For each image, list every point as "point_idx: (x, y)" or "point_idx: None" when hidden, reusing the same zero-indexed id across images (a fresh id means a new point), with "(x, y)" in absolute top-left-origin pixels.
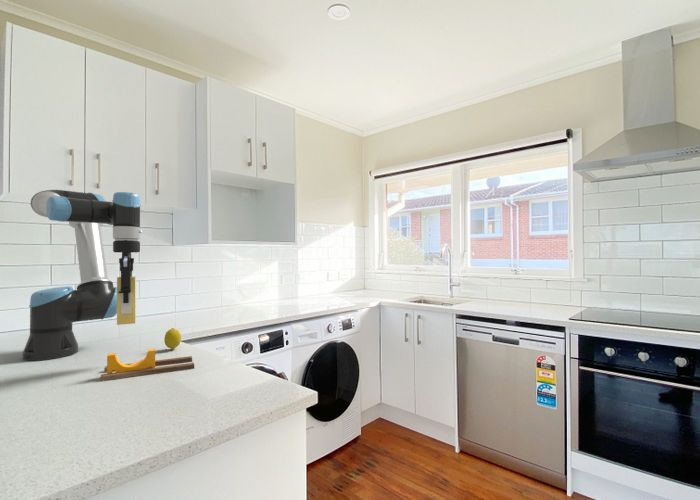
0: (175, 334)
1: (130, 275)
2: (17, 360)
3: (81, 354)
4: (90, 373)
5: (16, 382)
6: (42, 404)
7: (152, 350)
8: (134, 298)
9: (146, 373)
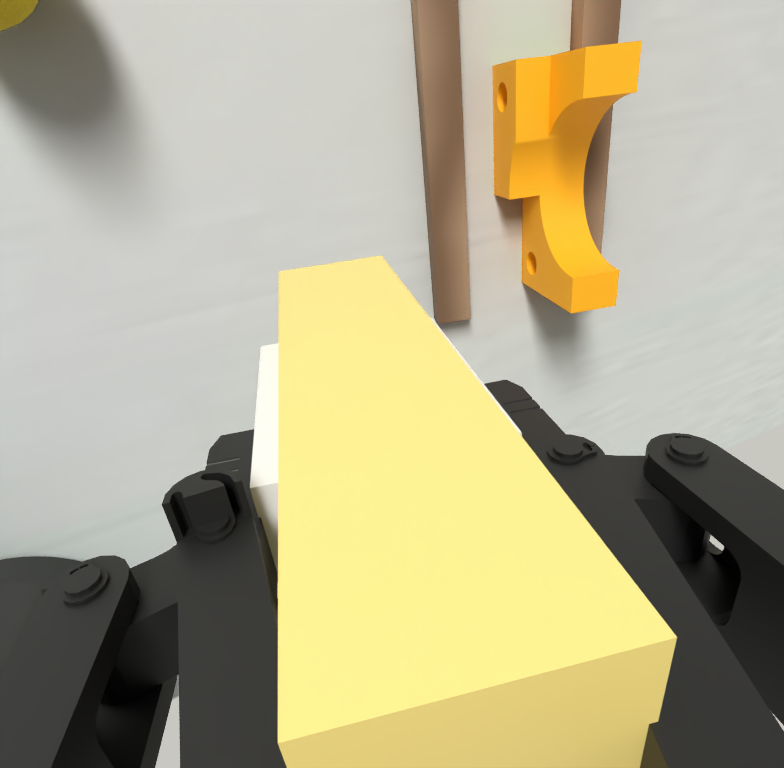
0: None
1: (761, 764)
2: None
3: (60, 523)
4: None
5: None
6: (732, 384)
7: (628, 61)
8: (451, 351)
9: None
